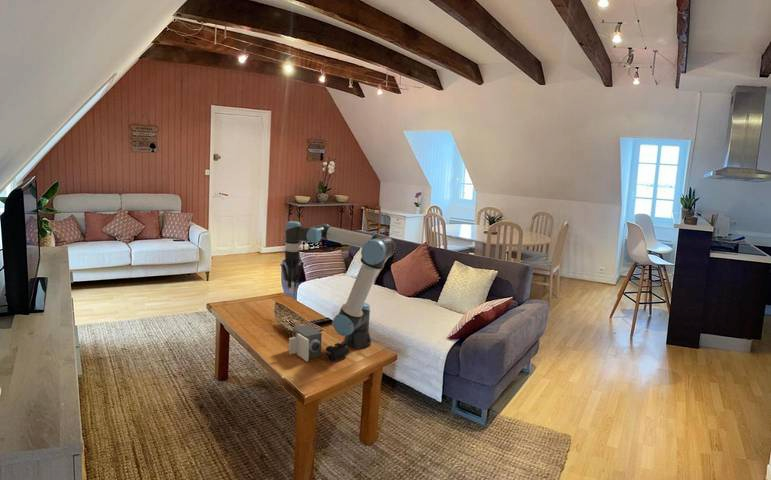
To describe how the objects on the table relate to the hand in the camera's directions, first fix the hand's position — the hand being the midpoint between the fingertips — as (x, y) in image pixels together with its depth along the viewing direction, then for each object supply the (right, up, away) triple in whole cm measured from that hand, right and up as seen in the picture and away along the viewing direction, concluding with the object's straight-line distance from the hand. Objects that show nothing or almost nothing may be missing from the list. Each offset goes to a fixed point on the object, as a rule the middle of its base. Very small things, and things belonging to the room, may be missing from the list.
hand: (291, 293), depth 265 cm
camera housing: (+11, -30, -12) cm, 34 cm away
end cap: (+26, -32, -16) cm, 44 cm away
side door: (+7, -30, -21) cm, 37 cm away
